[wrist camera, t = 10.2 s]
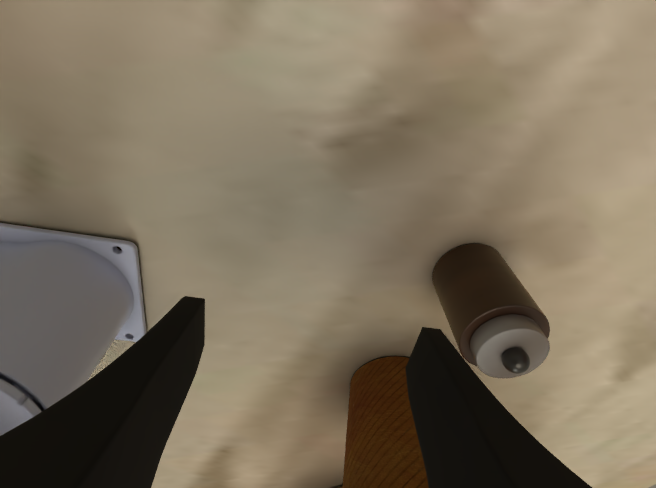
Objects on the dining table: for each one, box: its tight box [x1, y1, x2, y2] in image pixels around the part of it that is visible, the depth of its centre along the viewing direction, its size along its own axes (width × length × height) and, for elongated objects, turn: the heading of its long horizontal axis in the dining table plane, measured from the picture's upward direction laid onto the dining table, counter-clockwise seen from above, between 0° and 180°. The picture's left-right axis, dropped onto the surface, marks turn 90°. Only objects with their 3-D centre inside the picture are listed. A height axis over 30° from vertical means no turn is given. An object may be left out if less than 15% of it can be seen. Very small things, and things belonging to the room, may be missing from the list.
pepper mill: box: [432, 244, 550, 378], centre depth 20 cm, size 4×4×8 cm
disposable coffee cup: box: [343, 356, 429, 488], centre depth 24 cm, size 10×10×12 cm
